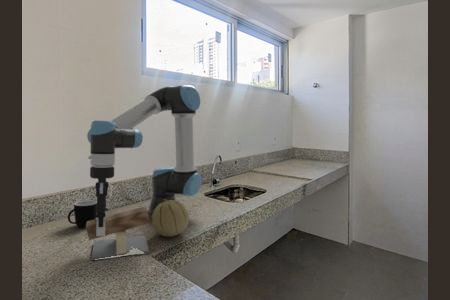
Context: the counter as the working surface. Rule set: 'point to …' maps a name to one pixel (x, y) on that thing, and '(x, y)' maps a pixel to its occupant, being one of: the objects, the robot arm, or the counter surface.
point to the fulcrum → (118, 246)
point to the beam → (119, 222)
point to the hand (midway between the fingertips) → (101, 232)
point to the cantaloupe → (170, 218)
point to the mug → (83, 212)
